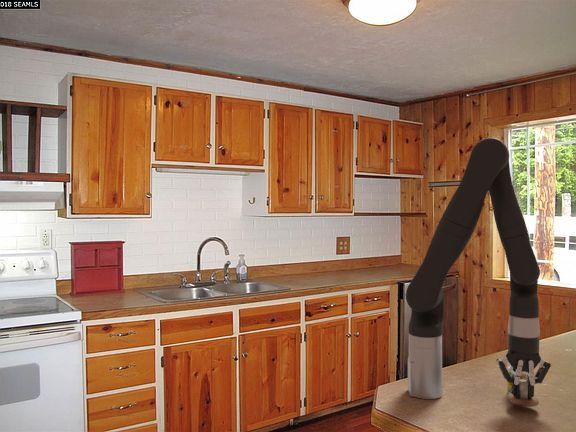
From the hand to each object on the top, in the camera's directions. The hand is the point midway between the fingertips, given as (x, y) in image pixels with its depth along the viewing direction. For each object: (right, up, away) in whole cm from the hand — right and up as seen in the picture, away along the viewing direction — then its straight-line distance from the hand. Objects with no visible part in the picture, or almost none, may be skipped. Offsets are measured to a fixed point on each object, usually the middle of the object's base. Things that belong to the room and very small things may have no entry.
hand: (522, 397), depth 134 cm
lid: (0, -1, 0) cm, 1 cm away
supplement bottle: (+3, -3, +11) cm, 12 cm away
